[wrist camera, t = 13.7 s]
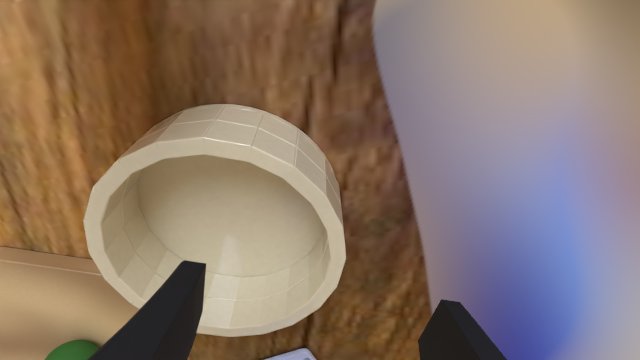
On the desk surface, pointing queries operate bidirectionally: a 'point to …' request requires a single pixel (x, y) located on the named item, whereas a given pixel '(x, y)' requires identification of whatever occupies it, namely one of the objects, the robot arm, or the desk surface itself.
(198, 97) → the desk surface
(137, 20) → the desk surface
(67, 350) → the cucumber
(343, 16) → the desk surface
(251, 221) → the pot
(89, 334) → the cutting board
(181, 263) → the robot arm
